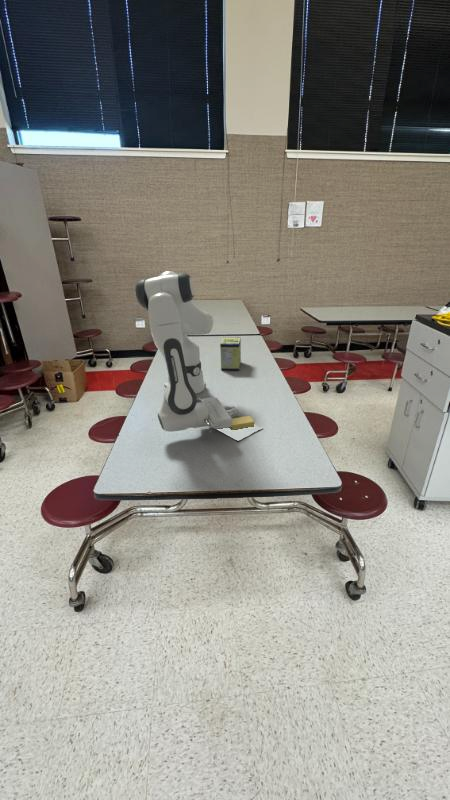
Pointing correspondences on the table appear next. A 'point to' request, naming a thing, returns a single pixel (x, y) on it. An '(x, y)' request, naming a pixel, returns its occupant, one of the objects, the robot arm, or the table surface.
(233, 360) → the protein box
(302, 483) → the table surface
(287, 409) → the table surface
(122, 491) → the table surface
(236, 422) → the box
